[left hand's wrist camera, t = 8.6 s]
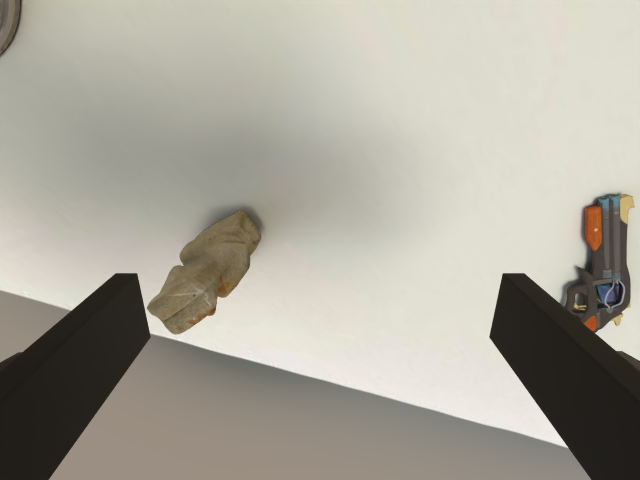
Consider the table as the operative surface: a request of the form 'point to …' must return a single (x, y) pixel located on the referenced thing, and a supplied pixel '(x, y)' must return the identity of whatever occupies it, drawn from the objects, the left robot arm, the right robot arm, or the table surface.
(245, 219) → the sculpture
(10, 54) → the table surface
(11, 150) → the table surface
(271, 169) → the table surface
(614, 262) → the toy gun
